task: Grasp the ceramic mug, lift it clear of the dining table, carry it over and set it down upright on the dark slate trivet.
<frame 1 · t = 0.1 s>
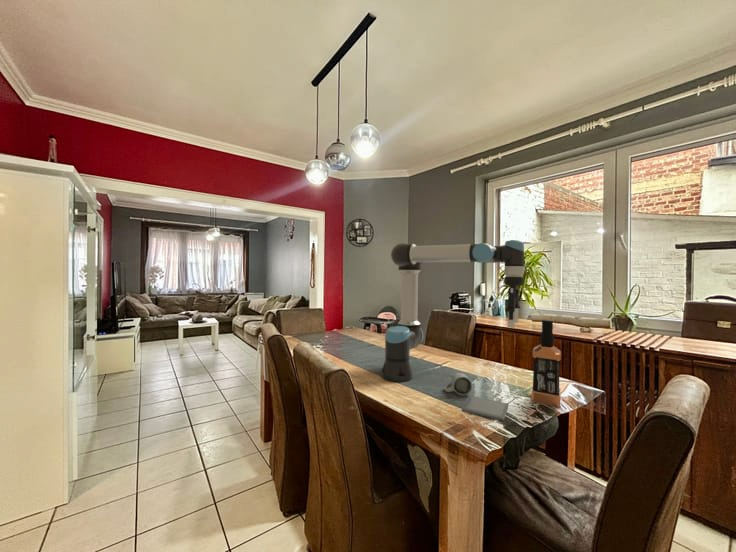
hand: (513, 325, 132), 28 cm above the table, fingers open, 13 cm apart
trivet: (485, 408, 114), on the table
ceramic mug: (457, 392, 129), on the table
whiskey bottle: (545, 400, 122), on the table
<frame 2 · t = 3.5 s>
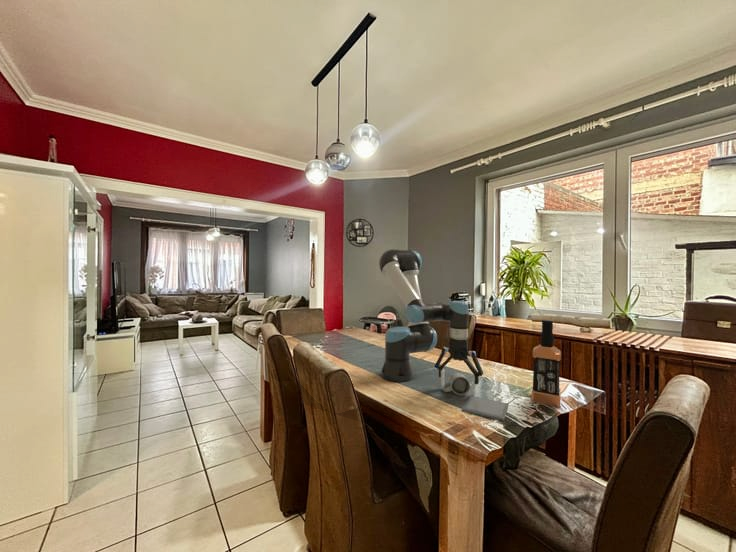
hand: (457, 388, 129), 2 cm above the table, fingers open, 12 cm apart
ceramic mug: (455, 392, 129), on the table, touching gripper
everything else where it was.
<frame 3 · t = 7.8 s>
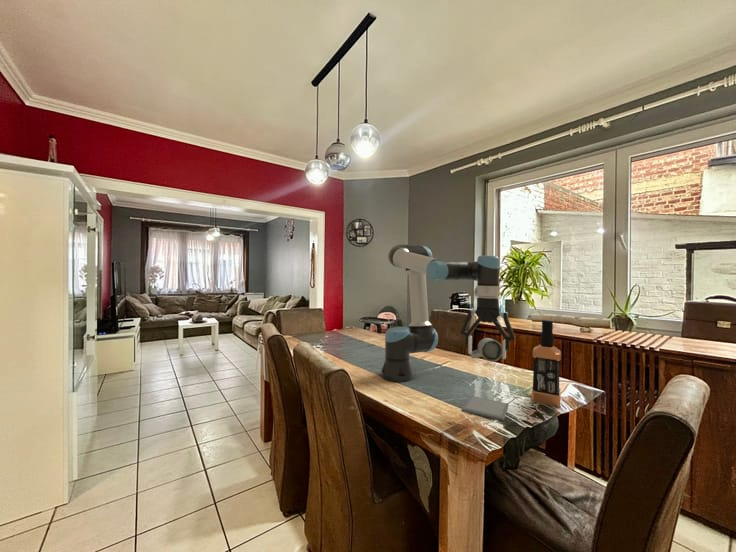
hand: (486, 355, 113), 20 cm above the table, fingers closed on ceramic mug, 11 cm apart
ceramic mug: (485, 359, 113), point 18 cm above the table, touching gripper
everything else where it was.
when the fingers open (4 cm above the table, at t = 11.7 s): ceramic mug drops 2 cm, resting on trivet.
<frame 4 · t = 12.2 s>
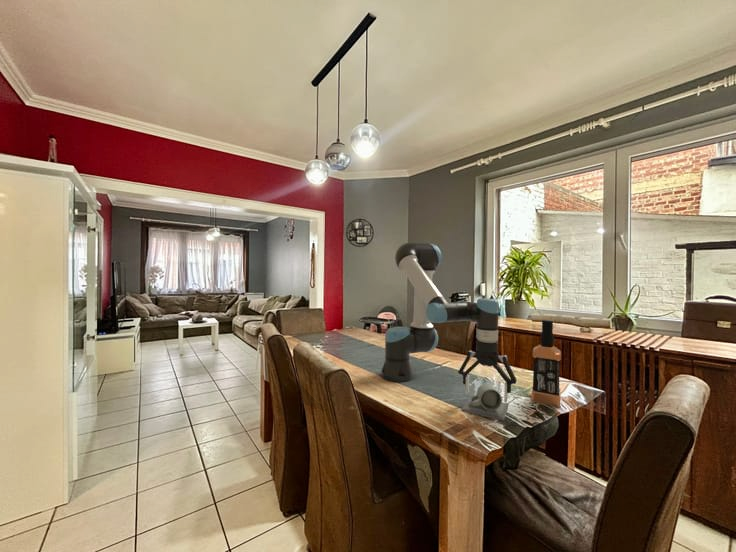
hand: (486, 397, 114), 4 cm above the table, fingers open, 13 cm apart
ceramic mug: (484, 406, 113), point 1 cm above the table, touching trivet
everything else where it was.
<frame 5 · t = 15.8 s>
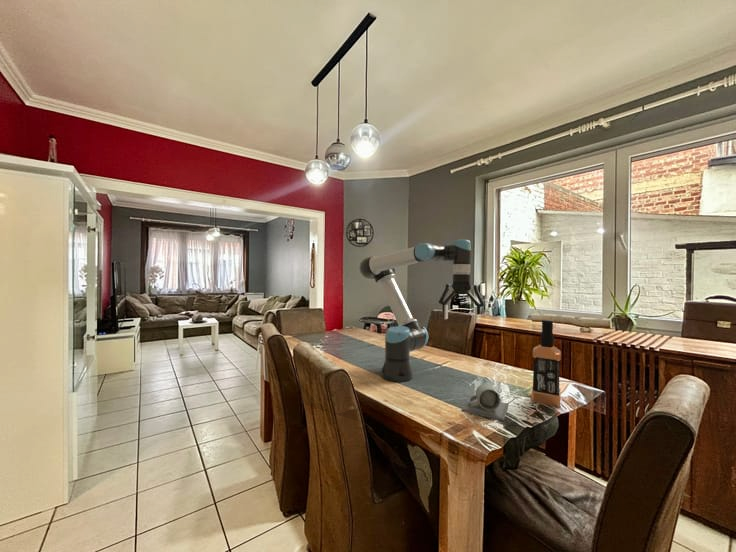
hand: (460, 320, 139), 29 cm above the table, fingers open, 13 cm apart
nothing on the table moved.
at the end: ceramic mug inside the target area on the trivet (1.1 cm from its centre), point 0.7 cm above the trivet's base; ceramic mug tilted 1°; the gripper is holding nothing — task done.
